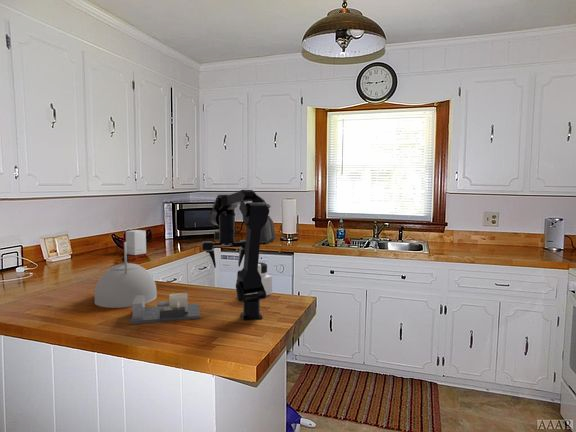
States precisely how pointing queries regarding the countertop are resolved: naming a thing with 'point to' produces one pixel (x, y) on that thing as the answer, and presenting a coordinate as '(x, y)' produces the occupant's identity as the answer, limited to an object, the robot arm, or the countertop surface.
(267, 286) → the container
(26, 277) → the countertop surface
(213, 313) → the countertop surface
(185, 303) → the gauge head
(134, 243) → the supplement box
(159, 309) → the gauge bench
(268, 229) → the bottle
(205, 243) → the robot arm
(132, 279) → the grey dome with rod
